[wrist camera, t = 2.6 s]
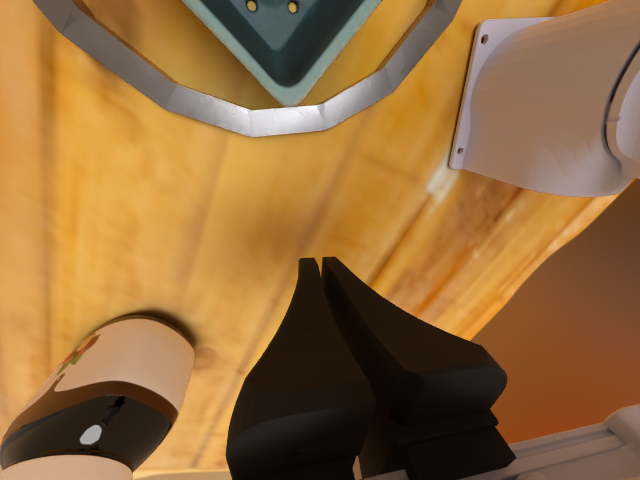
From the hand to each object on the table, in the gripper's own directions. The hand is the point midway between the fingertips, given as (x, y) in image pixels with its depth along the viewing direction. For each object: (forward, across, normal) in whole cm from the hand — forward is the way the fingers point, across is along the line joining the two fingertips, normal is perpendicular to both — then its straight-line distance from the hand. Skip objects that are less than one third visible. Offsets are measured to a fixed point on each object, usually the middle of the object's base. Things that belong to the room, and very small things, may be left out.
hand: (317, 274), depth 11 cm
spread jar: (+10, +15, +16) cm, 24 cm away
